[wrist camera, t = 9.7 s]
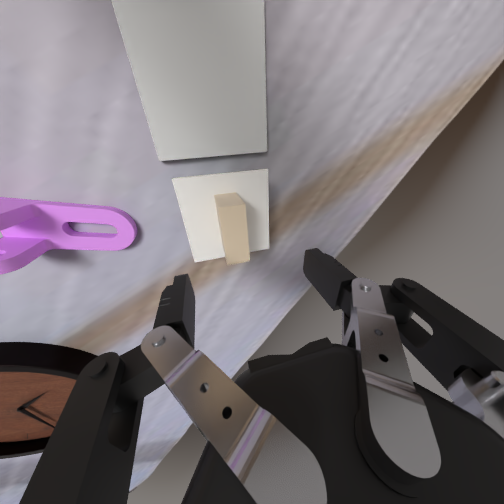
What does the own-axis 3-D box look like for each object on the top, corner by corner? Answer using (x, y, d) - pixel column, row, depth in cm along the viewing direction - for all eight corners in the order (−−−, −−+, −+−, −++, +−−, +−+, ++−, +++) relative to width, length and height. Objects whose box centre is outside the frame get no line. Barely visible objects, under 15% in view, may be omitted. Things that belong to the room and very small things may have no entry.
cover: (172, 178, 18) (163, 188, 13) (266, 168, 20) (286, 174, 15) (194, 259, 23) (193, 288, 19) (267, 246, 25) (283, 269, 20)
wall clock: (-206, 366, 19) (130, 365, 32) (-145, 334, 23) (137, 344, 35) (-108, 476, 31) (110, 443, 43) (-78, 443, 34) (117, 421, 47)
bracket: (19, 242, 22) (-46, 276, 16) (-3, 196, 19) (-90, 217, 14) (139, 246, 26) (122, 275, 20) (134, 208, 23) (112, 228, 17)
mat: (108, -17, 15) (102, -27, 14) (260, -6, 17) (263, -14, 16) (160, 160, 21) (159, 161, 20) (264, 151, 24) (267, 151, 23)
